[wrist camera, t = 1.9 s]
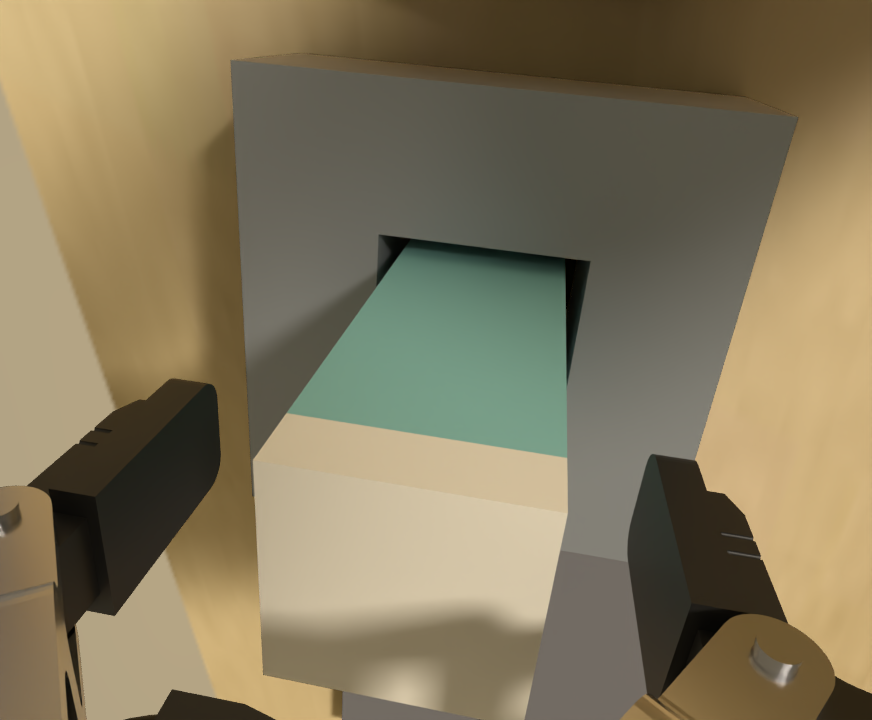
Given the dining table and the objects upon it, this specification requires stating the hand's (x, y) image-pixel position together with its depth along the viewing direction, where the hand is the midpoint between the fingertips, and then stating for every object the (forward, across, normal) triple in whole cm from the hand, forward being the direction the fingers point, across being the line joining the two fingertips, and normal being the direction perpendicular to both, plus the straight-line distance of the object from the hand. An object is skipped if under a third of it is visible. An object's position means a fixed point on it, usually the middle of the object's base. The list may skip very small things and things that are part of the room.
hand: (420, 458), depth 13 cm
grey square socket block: (+10, 0, 0) cm, 10 cm away
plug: (+10, 0, 0) cm, 10 cm away
